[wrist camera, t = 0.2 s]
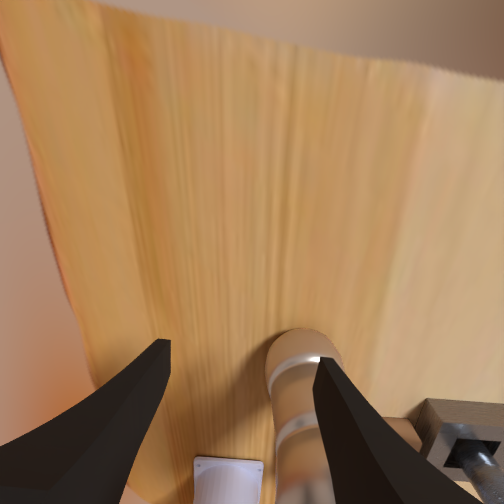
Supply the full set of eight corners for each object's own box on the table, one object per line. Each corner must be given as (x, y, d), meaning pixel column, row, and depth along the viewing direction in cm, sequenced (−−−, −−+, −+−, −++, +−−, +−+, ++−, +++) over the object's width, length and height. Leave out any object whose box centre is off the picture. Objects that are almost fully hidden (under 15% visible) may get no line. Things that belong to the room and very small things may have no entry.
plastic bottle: (349, 343, 24) (678, 1023, 5) (300, 386, 26) (409, 992, 7) (296, 305, 23) (473, 1016, 4) (249, 353, 25) (217, 981, 6)
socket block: (477, 457, 29) (496, 483, 26) (405, 451, 29) (418, 477, 26) (506, 404, 26) (530, 428, 24) (426, 398, 26) (443, 422, 24)
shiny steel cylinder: (462, 439, 28) (550, 562, 19) (434, 437, 28) (510, 560, 19) (472, 419, 27) (570, 540, 18) (443, 417, 27) (527, 537, 18)
